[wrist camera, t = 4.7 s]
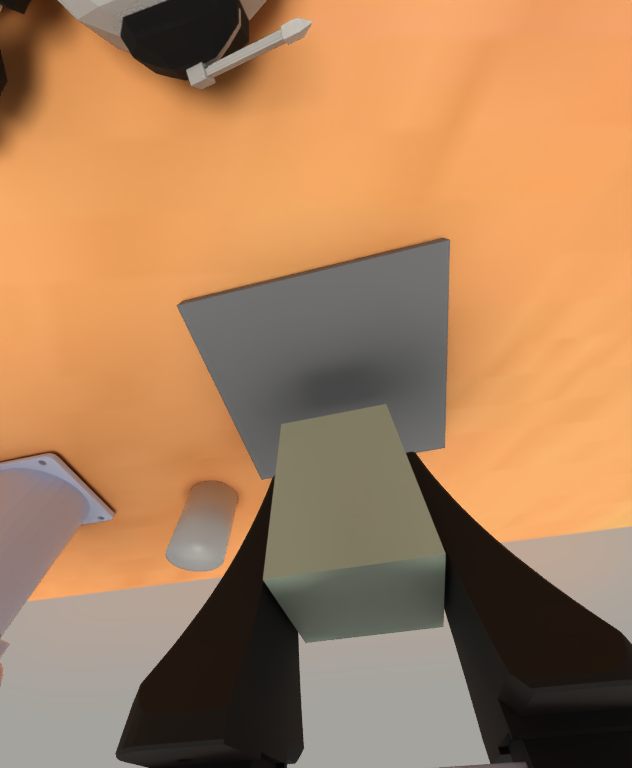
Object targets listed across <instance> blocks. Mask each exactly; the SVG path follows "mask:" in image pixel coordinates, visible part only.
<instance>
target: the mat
mask: <svg viewBox="0 0 632 768" xmlns="http://www.w3.org/2000/svg"><path fill="white" fill-rule="evenodd" d="M449 256H450V240H449V239H445V238H441V239H437V240H433V241H429V242H425V243H421V244H417V245H413V246H408V247H404V248H400V249H396V250H392V251H388V252H384V253H380V254H375V255H371V256H367V257H363V258H359V259H355V260H351V261H347V262H342V263H338V264H334V265H330V266H326V267H322V268H318V269H314V270H309V271H305V272H301V273H297V274H293V275H289V276H285V277H280V278H276V279H272V280H268V281H264V282H260V283H256V284H252V285H247V286H243V287H239V288H235V289H231V290H227V291H223V292H219V293H214V294H210V295H206V296H202V297H198V298H194V299H190V300H186V301H182V302H181V303H179V304H178V305H177V307H178V309H179V311H180V313H181V316H182V318H183V320H184V322H185V324H186V326H187V328H188V330H189V332H190V334H191V336H192V338H193V340H194V342H195V344H196V346H197V348H198V350H199V352H200V354H201V356H202V358H203V361H204V363H205V365H206V367H207V369H208V371H209V373H210V375H211V377H212V379H213V381H214V383H215V385H216V387H217V389H218V391H219V393H220V395H221V397H222V399H223V401H224V404H225V406H226V408H227V410H228V412H229V414H230V416H231V418H232V420H233V422H234V424H235V426H236V428H237V430H238V432H239V434H240V436H241V438H242V440H243V442H244V444H245V446H246V449H247V451H248V453H249V455H250V457H251V459H252V461H253V463H254V465H255V467H256V469H257V471H258V473H259V475H260V477H261V479H262V480H263V479H268V478H273V477H274V475H275V473H276V464H277V456H278V447H279V439H280V431H281V424H285V423H290V422H295V421H300V420H305V419H311V418H316V417H321V416H326V415H331V414H337V413H342V412H347V411H352V410H357V409H362V408H368V407H373V406H378V405H383V404H386V405H387V407H388V410H389V412H390V415H391V417H392V420H393V422H394V425H395V427H396V430H397V432H398V435H399V437H400V440H401V442H402V445H403V447H404V450H405V453H406V452H412V451H413V452H415V453H418V452H423V451H429V450H435V449H441V448H445V421H446V380H447V339H448V298H449Z"/></svg>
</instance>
